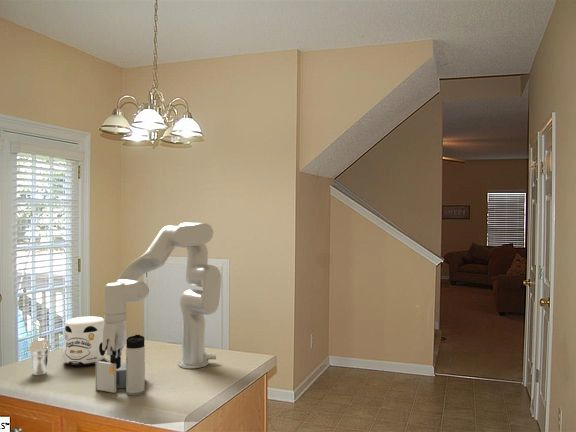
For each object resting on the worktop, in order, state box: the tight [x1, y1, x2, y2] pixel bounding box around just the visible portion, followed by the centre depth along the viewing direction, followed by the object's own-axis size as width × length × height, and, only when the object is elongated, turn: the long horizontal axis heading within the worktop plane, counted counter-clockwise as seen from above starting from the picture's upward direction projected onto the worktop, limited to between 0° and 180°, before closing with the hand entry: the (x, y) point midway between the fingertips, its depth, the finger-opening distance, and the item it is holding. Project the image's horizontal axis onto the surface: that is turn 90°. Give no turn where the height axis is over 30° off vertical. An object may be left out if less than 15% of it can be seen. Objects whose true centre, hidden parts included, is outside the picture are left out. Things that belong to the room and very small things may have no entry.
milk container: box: [62, 315, 107, 367], centre depth 214 cm, size 17×17×18 cm
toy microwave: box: [116, 363, 126, 389], centre depth 187 cm, size 16×9×7 cm, turn 103°
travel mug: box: [125, 334, 146, 397], centre depth 179 cm, size 6×7×20 cm
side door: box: [95, 361, 117, 394], centre depth 179 cm, size 9×2×10 cm, turn 69°
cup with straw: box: [27, 320, 53, 376], centre depth 199 cm, size 8×9×20 cm
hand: (115, 367), depth 181 cm, fingers closed
